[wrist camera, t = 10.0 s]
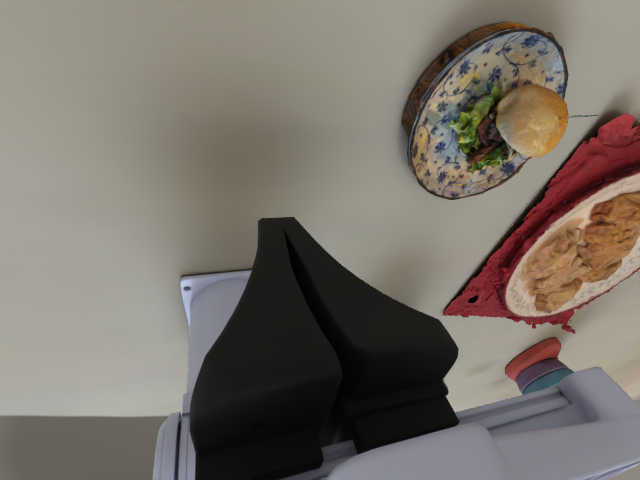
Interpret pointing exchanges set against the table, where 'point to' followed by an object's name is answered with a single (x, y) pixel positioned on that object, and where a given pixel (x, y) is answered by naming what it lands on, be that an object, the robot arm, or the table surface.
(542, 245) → the plate with food
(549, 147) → the burger
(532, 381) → the stacking bear
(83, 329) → the table surface
